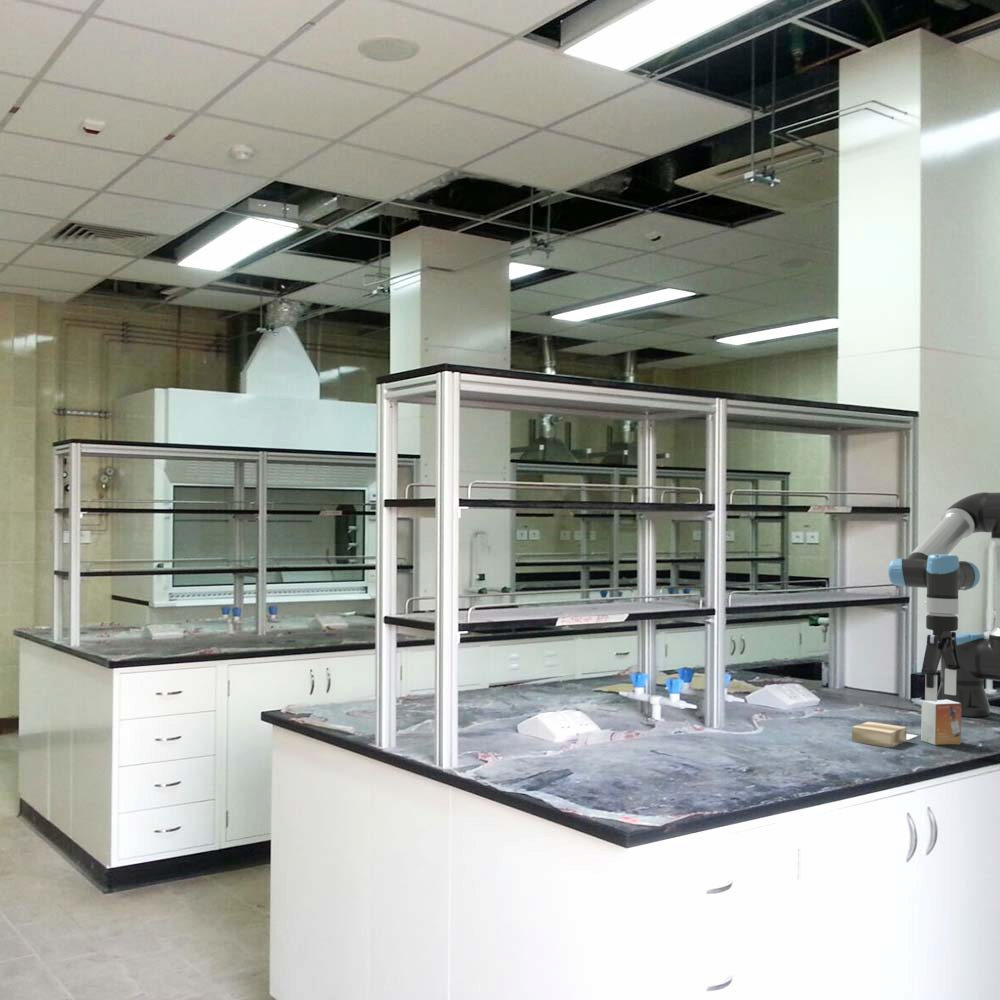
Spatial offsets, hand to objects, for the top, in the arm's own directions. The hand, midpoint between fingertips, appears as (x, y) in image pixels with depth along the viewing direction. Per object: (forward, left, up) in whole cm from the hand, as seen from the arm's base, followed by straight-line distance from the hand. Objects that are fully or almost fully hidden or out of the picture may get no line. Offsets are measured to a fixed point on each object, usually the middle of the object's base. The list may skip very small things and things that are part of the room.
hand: (940, 697), depth 268 cm
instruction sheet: (0, -12, -12) cm, 17 cm away
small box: (0, 0, -12) cm, 12 cm away
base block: (+10, -12, -12) cm, 19 cm away
